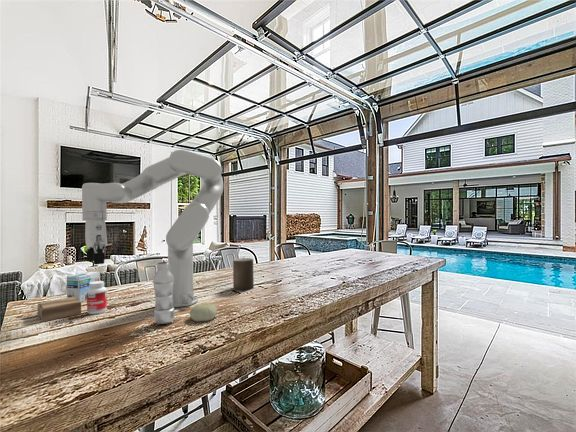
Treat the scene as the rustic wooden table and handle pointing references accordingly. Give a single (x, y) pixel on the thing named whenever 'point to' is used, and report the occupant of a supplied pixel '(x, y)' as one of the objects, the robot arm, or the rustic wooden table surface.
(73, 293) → the light bulb box
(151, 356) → the rustic wooden table surface
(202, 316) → the sea urchin shell
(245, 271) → the pillar candle
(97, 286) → the pill bottle
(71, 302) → the walnut base
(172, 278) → the plastic bottle
